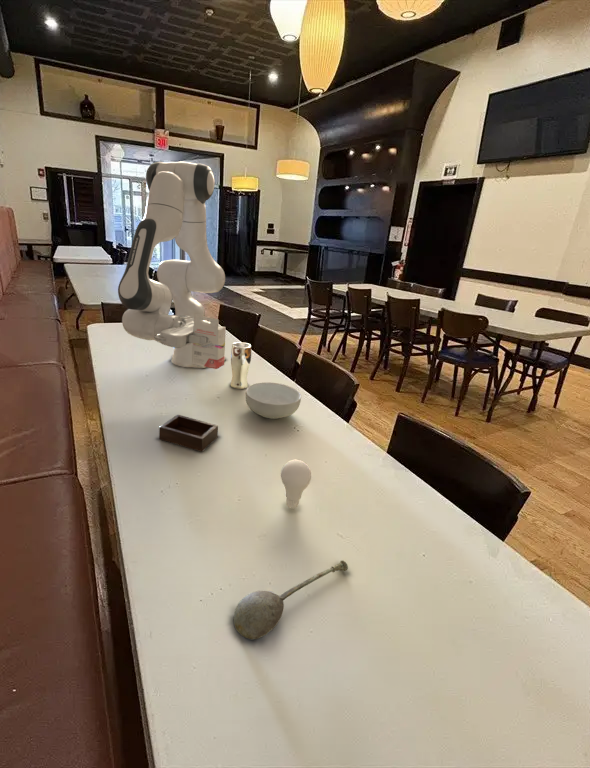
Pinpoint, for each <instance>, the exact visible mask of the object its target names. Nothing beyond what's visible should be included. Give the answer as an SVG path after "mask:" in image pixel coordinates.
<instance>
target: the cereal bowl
mask: <svg viewBox="0 0 590 768" xmlns="http://www.w3.org/2000/svg"><path fill="white" fill-rule="evenodd" d="M245 389H246V390H245V402H246V403H245V404H246V405H247V407H248V408H249V409H250V410H251V411H252V412H253V413H255V414H257V415H259V416H261V417H263V418H265V419H271V420H276V419H282V418H286V417H290V416H292V415H293V414H294V413H296V412H297V411H298V409H299V407H300V405H301V402H302V394H301V392H300V391H299V390H297V388H294V387H292V386H289V385H286V384H285V383H284V384H283V383H279V382H272V381H271V382H268V381H266V382H257V383H253V384H251V385H248V386H247V388H245Z"/></svg>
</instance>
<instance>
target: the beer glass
mask: <svg viewBox="0 0 590 768" xmlns="http://www.w3.org/2000/svg"><path fill="white" fill-rule="evenodd" d="M251 361H252V345H251V343H248V342H244V341H243V342H242V341H237V342H232V344H231V351H230V367H231V373H232V374H231V381H230V387H231V388H233V389H237V390H242V389H243V390H244V389H247V388H248V387H249V384H248V375H249V374H248V373H249V370H250V368H251V367H250V366H251Z"/></svg>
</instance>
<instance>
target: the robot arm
mask: <svg viewBox="0 0 590 768" xmlns="http://www.w3.org/2000/svg"><path fill="white" fill-rule="evenodd" d="M215 181H216V180H215V175H214V171H213V170H212V168H211V167H210V166H208V165H206V164H204V163H200V162H199V163H195V162H188V161H168V162H167V161H166V162H163V161H156V162H153V163H151V164H150V165H149V166H148V167H147V169H146V173H145V184H146V188H147V190H148V195H147V199H146V206H145V212H144V216H143V219H142V220H140V222H139V223H138V224H137V226H136V228H135V232H134V235H133V239H132V243H131V247H130V250H129V255H128V259H127V262H126V266H125V269H124V272H123V274H122V277H121V278H120V281H119V283H118V286H117V295H118V299H119V301H120V303H121V304H122V306H124V307H125V308H127V309H126V310H125V311H124V313H123V314H122V316H121V323H122V327H123V329H124V331H125V332H126V333H127V334H128V335H130V336H131V337H134V338H137V339H141V340H144V341H155V342H157V343H160V344H161V345H163V346H167V347H170V348H173V354H172V357H171V360H170V361H171V363H172V364H173V365H175V366H178V367H183V368H197V369H198V368H199V369H206V368H207V367H205V366H200V365H196V364H192V350H193V343H202V344H205V343H207V342H208V337H205V336H195V335H193V333H194V331H193V325H194V316H195V315H198V316H204V317H206V310H205V307H204V306H203V304H202V303H201V302H199V301H198V300H196V298H195V297H194V296H193V294H192V293H202V294H213V293H219V292H220V291H221V290H222V289H223V287H224V286H225V283H226V274H225V271H224V268H222V266H221V265H219V264H218V262H217V261H215V259H214V257H213V256H212V254H211V252H210V249H209V245H208V237H207V209H206V202H207V201H209V200H210V199H211V197H212V196H213V193H214V190H215V184H216V183H215ZM172 240H174V241H175V244H176V245H177V247H178V248H179V249H180V250H182V251H184V252H185V253H186V254H187V255H188V258H189V260H186V259H167V260H166V259H165V260H163V261H161V262H160V263H159V264H158V266H157V269H156V276H157V280H154V279H152V278H150V275H149V271H150V267H151V261H152V258H153V254H154V250H155V248H156V246H157V245H158V244H159V243H164V242H165V243H166V242H169V241H172ZM172 305H173V306H174V313H175V314H170V311H171V308H172ZM202 323H208V324H210V322H209V321H207V320H205V321H204V320H202ZM224 361H226V355H224Z"/></svg>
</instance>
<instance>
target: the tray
mask: <svg viewBox="0 0 590 768" xmlns="http://www.w3.org/2000/svg"><path fill="white" fill-rule="evenodd" d="M158 430H159V431H158V432H159V433H158V434H159V440H161V441H164V442H168V443H171V444H174V445H178V446H181V447H184V448H188V449H191V450H195V451H198V452H201V453H202V452H204V451H205V449H207V448H208V447H209V446H210V445H211V444H212V443H213V442H215V441H216V440H217V439H218V437H219V436H218V435H219V425H217V424H215V423H211V422H207V421H203V420H201V419H197V418H193V417H188V416H184V415H181V414H176V415H175V416H173V417H172V418H170V419H169V420H167V421H166V422H164V423H163V424H162V425H160V426H159V428H158Z"/></svg>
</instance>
